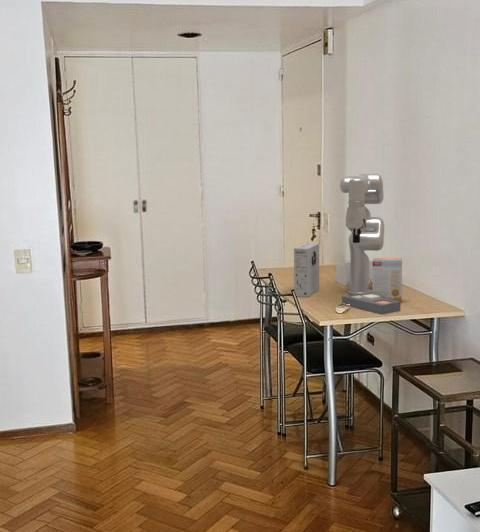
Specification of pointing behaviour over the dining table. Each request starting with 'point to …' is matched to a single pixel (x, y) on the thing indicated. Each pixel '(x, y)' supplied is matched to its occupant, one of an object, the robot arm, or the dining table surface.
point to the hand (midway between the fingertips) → (356, 242)
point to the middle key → (370, 297)
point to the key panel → (372, 304)
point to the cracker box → (387, 278)
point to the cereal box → (306, 269)
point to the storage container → (348, 272)
